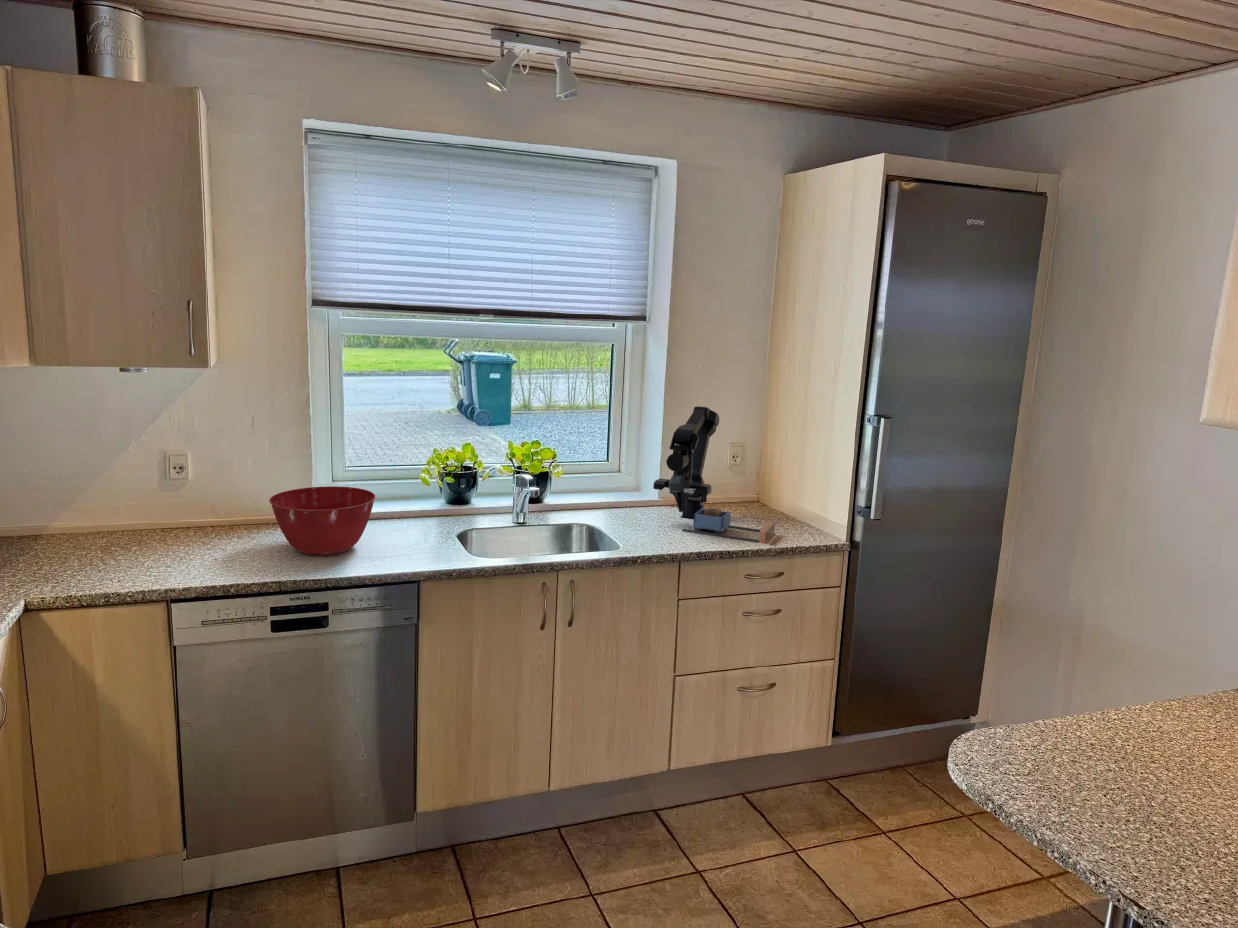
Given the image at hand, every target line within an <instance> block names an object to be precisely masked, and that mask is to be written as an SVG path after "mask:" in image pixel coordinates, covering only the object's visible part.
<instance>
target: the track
mask: <svg viewBox="0 0 1238 928" xmlns="http://www.w3.org/2000/svg"><path fill="white" fill-rule="evenodd" d="M775 525H776V522H772V521H768V522H767V523H766V524H765V525H764V526H763V528H761V529H759V528H751V527H745V526H744V527H743V526H737V525H731V524H730V526H729V527H728V528H727V529H734V530H741V531H748V532H754V533H755V532H756V533H759V535H758V536H759V538H758V539H756V538H750V537H749V538H748V537H743V536H735V535H728V534H723V533H721V534H716V533H715V532H707V531H703V530H701V531H696V530H695V529H694V530H693V529H687V528H682V531H681V532H684V533H690V534H697V535H704V536H710V537H711V536H712V537H717V538H724V539H725V538H726V539H732V540H737V541H738V540H739V541H745V542H751V543H758V544H767V542H768V541H769V540H770V539H771V538H772V537H773V536H774V534H775Z"/></svg>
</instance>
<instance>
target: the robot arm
mask: <svg viewBox="0 0 1238 928" xmlns="http://www.w3.org/2000/svg"><path fill="white" fill-rule="evenodd" d="M719 424H720V415H719V414H718V413H717V412H716V411H714V410H711V409H710V408H709V407H707V406H698V405H697V406H694V408H693V411H692V413H691V414H690V416H689V418H687V420H686V423H685V424H682V425H680V426H678V427H677V428H676V429H675V431H674V432H673V434H672V438H671V441H670V445H669V450H672V453H671V454H669V455H668V457H667V459H666V466H667V468H668V469H669V470H670V471H673V475H672V476H671V478H670V479H668V478H657V479H656V480H654V482H653V485H652V486H653V487H652V488H653V489H654V490H659V491H662V490H663V489H665V488H667V489H669V494H672V496H673V497H674V499H675V502H676V505H677V509H678V512H679V513H681V516H680V518H681V519H688V520H693V521H694V514H695V513H696V512H698V511H699V510H700V509H705V505H704V504H703V503H707V502H708V501H707V500H708V497H707V496H708V495H710V494H711V493H712V486H711V484H709V483H705V481H704V478H703V471H704V466H705V462H706V461H705V460H706V457H707V453H708V452H707V451H708V448H709V447H708V446H709V442H710V438H711V437H712V436H713V435H714V434H715V433H716V431H717V428H718V426H719Z"/></svg>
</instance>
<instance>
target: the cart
mask: <svg viewBox="0 0 1238 928" xmlns="http://www.w3.org/2000/svg"><path fill="white" fill-rule="evenodd" d="M706 509H707V508H704V509H700V510H699V511H698V512H696V513H695V514H694V520H693V526H692V527H693V528H694V530H695V531H703V530H704V529H705V530H710V531H714V533H716V534H723V532H724V531H725V530H727V529H729V528H728V527H729V526H730V525H731V511H723V510H721V517H717V516H710V515H704V510H706Z"/></svg>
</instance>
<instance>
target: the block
mask: <svg viewBox="0 0 1238 928" xmlns="http://www.w3.org/2000/svg"><path fill="white" fill-rule="evenodd" d="M705 509H706V510H704V515H710V516H717V517H721V511H722V509H720V508H719V509H718V508H711V507H707V508H705Z"/></svg>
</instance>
